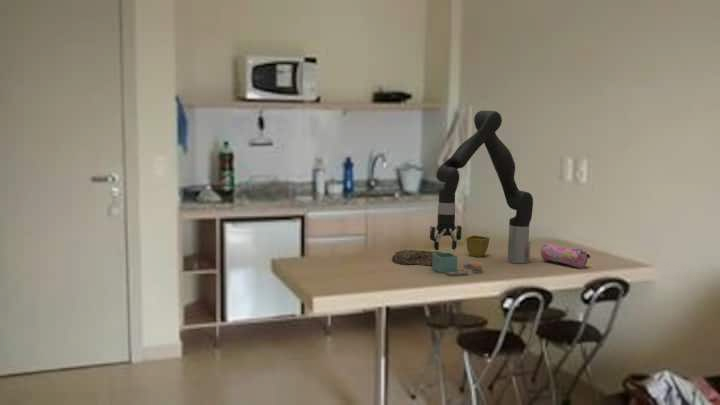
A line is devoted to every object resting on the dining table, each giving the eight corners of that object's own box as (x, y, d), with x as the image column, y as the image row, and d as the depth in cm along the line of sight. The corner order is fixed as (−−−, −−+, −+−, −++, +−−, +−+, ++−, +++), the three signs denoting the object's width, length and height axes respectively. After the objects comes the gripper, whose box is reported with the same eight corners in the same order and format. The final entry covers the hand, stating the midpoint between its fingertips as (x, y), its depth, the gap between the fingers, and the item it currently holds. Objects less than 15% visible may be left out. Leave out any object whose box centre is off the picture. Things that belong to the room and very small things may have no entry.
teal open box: (449, 268, 325) (449, 252, 324) (456, 272, 317) (457, 256, 316) (432, 269, 323) (432, 253, 322) (439, 273, 315) (439, 257, 314)
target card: (463, 272, 317) (463, 270, 317) (468, 275, 313) (468, 272, 312) (444, 273, 315) (444, 271, 315) (449, 276, 310) (449, 274, 310)
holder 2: (479, 271, 320) (479, 268, 320) (483, 273, 317) (483, 270, 317) (471, 271, 319) (471, 269, 319) (475, 273, 316) (475, 270, 316)
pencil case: (589, 267, 332) (591, 248, 331) (578, 270, 326) (579, 250, 325) (550, 259, 348) (551, 240, 347) (538, 261, 342) (539, 242, 341)
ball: (479, 269, 320) (480, 260, 320) (483, 271, 317) (484, 262, 316) (471, 269, 319) (471, 260, 319) (475, 271, 316) (475, 262, 315)
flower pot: (489, 255, 354) (490, 237, 353) (482, 258, 347) (482, 239, 345) (472, 253, 359) (473, 235, 357) (465, 256, 351) (465, 237, 350)
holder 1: (470, 266, 329) (470, 264, 329) (474, 268, 325) (474, 265, 325) (463, 267, 328) (463, 264, 328) (466, 268, 324) (466, 266, 324)
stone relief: (396, 244, 356) (458, 248, 350) (396, 253, 356) (458, 257, 351) (388, 255, 330) (454, 259, 325) (388, 265, 331) (454, 269, 325)
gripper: (458, 210, 322) (456, 247, 324) (427, 211, 318) (426, 248, 320) (465, 213, 315) (463, 250, 317) (434, 214, 311) (433, 252, 313)
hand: (445, 249), depth 319 cm, fingers open, 7 cm apart
